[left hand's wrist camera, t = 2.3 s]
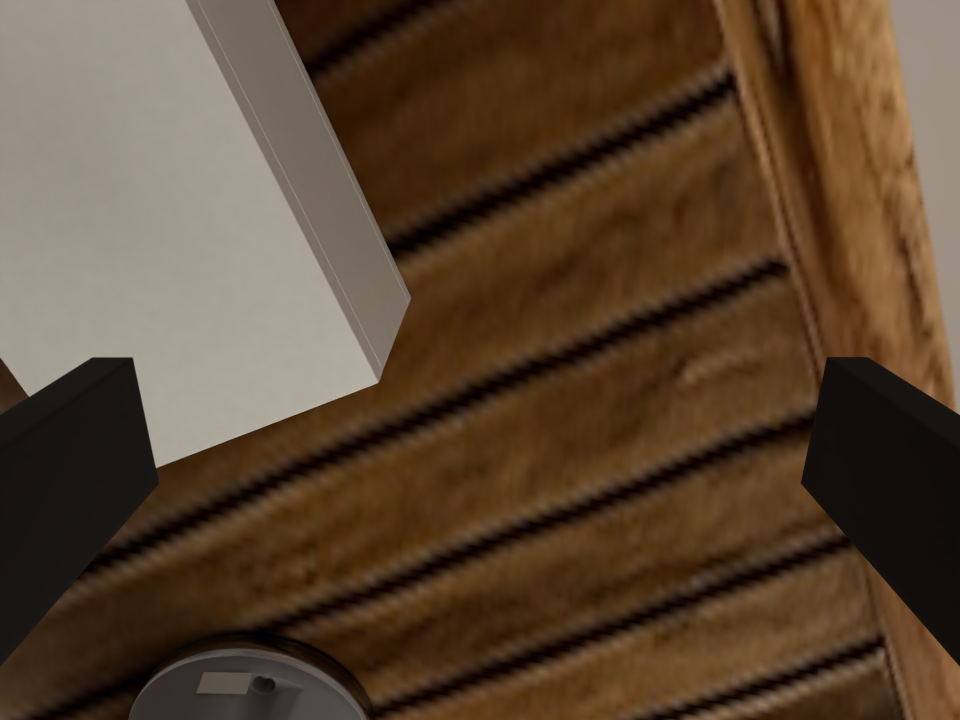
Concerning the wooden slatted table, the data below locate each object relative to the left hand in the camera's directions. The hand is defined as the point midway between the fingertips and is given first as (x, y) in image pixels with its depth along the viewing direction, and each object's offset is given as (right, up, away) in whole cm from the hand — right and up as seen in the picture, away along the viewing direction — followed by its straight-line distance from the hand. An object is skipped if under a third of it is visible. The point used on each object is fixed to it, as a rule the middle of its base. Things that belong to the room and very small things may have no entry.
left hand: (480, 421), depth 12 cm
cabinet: (-12, +11, +16) cm, 23 cm away
